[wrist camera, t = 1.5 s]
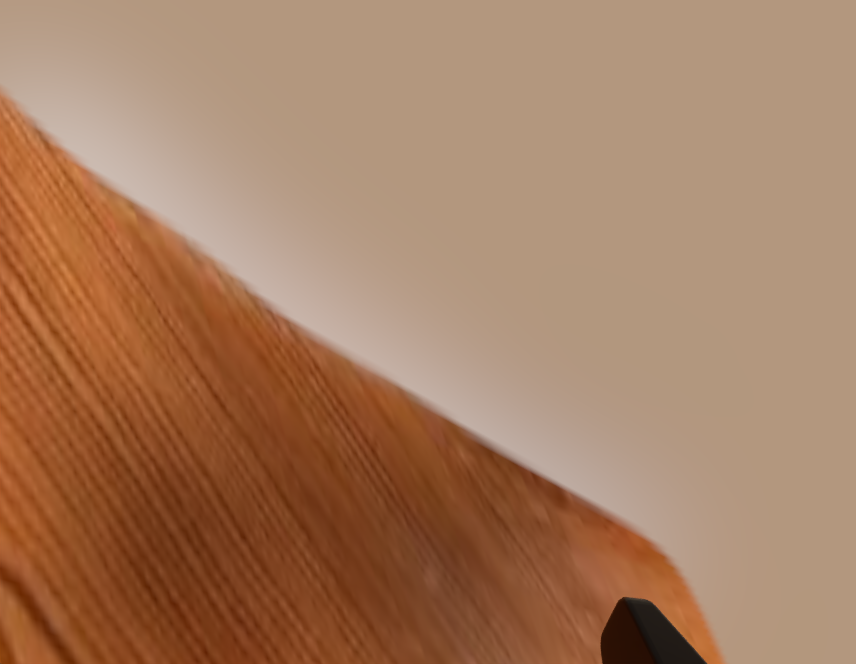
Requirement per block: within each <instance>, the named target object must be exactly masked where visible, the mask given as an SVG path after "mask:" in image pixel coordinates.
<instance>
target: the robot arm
mask: <svg viewBox="0 0 856 664" xmlns="http://www.w3.org/2000/svg"><path fill="white" fill-rule="evenodd" d="M601 656H602V663H603V664H707V663H706V662H705V661H704V659H703V658H702V657H701V656H700V655H699V654H698V653H697V652H696V651H695V649H694V648H693V647H692V646H691V645H690V644H689V643H688V642H687V640H686V639H685V638H684V637H683V636H682V635H681V634H680V633H679V632H678V630H677V629H676V628H675V627H674V626H673V625H672V624H671V623H670V621H669V620H668V619H667V618H666V617H665V616H664V615H663V614H662V613H661V611H660V610H659V609H658V608H657V607H656V606H655V605H654V604H653V603H652V602H650V601H648V600H645V599H638V598H629V597H623V598H622V599H620V600H619V601H618V602H617V604H616V606H615V608H614V610H613V612H612V614H611V616H610V618H609V620H608V622H607V624H606V626H605V628H604V630H603V633H602V636H601Z"/></svg>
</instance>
